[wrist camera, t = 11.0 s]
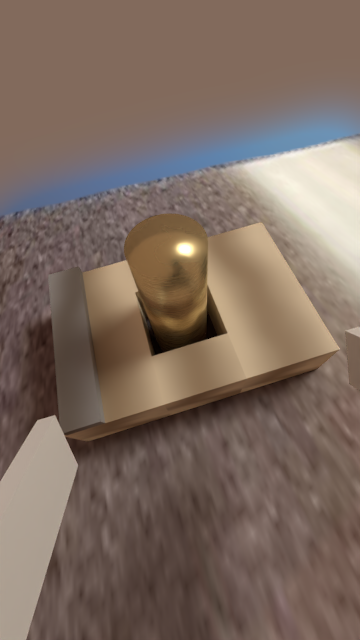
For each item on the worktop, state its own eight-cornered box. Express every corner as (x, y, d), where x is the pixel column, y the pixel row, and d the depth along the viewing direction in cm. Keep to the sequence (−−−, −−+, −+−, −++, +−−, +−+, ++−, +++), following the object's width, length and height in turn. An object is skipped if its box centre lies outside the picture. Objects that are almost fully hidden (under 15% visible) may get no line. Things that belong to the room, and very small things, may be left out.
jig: (254, 254, 27) (263, 214, 23) (317, 368, 21) (345, 344, 17) (72, 306, 26) (45, 275, 22) (88, 441, 20) (56, 435, 16)
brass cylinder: (197, 308, 25) (193, 205, 15) (213, 350, 23) (220, 263, 13) (151, 321, 24) (117, 225, 15) (164, 365, 22) (133, 288, 13)
